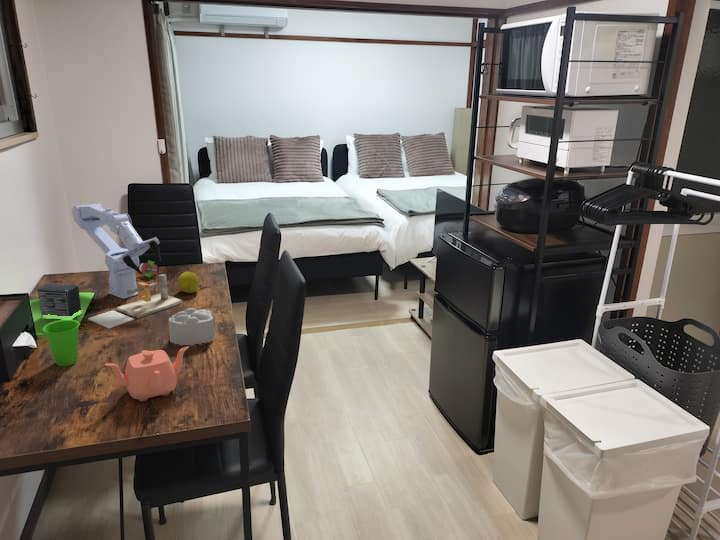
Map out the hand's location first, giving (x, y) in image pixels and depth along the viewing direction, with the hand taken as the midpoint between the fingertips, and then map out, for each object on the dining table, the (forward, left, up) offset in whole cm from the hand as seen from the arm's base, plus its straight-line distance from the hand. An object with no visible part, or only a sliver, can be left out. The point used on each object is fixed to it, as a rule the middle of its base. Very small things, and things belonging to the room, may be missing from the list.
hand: (150, 267), depth 179 cm
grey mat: (-3, -15, -15) cm, 21 cm away
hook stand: (-3, 0, -15) cm, 16 cm away
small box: (-18, -23, -16) cm, 33 cm away
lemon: (-4, +18, -16) cm, 24 cm away
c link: (-3, -2, -12) cm, 13 cm away
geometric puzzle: (-31, +20, -16) cm, 40 cm away
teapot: (+47, -35, -16) cm, 61 cm away
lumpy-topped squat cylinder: (+29, -8, -16) cm, 34 cm away
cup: (+14, -39, -16) cm, 44 cm away
